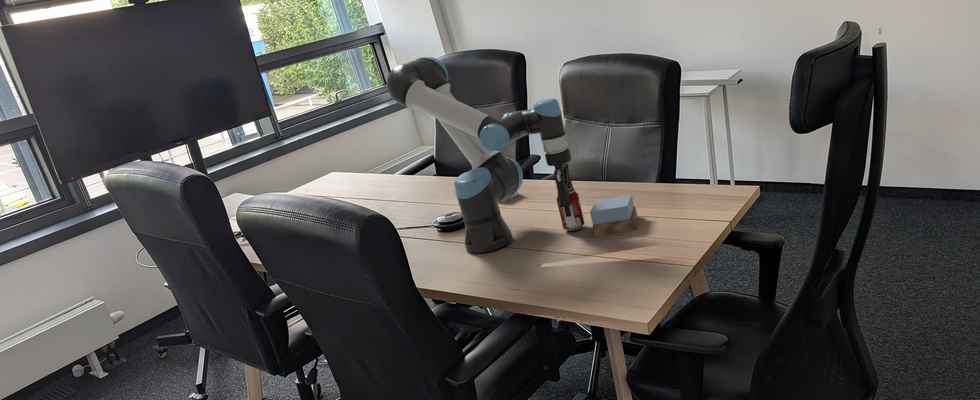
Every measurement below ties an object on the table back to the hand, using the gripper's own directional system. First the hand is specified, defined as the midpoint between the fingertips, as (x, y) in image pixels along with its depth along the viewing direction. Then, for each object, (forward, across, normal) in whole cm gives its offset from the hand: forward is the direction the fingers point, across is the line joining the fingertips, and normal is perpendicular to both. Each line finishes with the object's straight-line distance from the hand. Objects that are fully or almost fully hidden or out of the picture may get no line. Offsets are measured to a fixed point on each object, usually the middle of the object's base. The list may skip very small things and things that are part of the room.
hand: (572, 221), depth 230 cm
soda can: (+2, 0, 0) cm, 2 cm away
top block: (-1, -4, -13) cm, 14 cm away
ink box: (+4, +43, +32) cm, 53 cm away
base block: (+3, -4, -13) cm, 14 cm away
